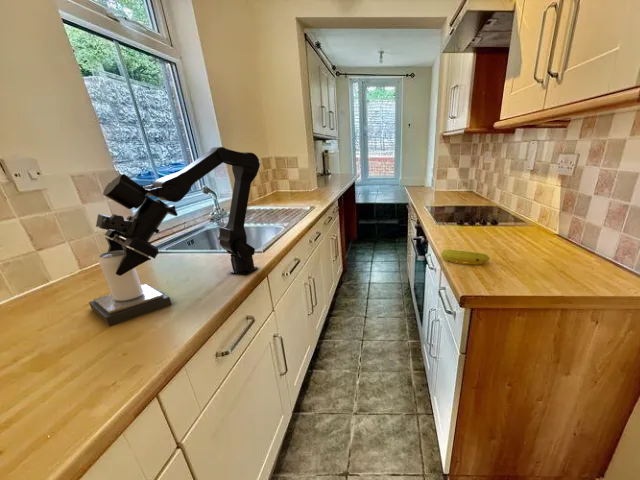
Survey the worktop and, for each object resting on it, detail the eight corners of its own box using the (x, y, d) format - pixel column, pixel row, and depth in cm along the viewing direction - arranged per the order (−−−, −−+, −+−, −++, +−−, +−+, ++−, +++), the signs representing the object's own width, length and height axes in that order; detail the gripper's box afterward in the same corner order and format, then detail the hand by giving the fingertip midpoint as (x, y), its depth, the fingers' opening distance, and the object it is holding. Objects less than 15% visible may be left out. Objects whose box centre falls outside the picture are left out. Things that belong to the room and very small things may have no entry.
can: (148, 294, 86) (133, 252, 81) (119, 304, 81) (102, 259, 76) (137, 289, 89) (123, 248, 84) (110, 297, 84) (92, 254, 79)
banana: (494, 254, 112) (482, 248, 126) (446, 251, 112) (439, 245, 126) (492, 266, 113) (480, 259, 128) (444, 263, 113) (437, 256, 127)
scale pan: (146, 286, 93) (145, 284, 92) (163, 297, 86) (162, 294, 86) (94, 301, 84) (93, 298, 84) (109, 314, 78) (108, 311, 77)
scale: (153, 291, 95) (150, 284, 94) (173, 304, 88) (171, 296, 87) (92, 310, 85) (88, 302, 84) (109, 326, 77) (105, 317, 76)
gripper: (101, 197, 83) (62, 248, 79) (127, 204, 73) (84, 263, 69) (145, 222, 92) (112, 268, 88) (174, 231, 82) (138, 284, 78)
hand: (111, 270), depth 81 cm, fingers open, 9 cm apart
